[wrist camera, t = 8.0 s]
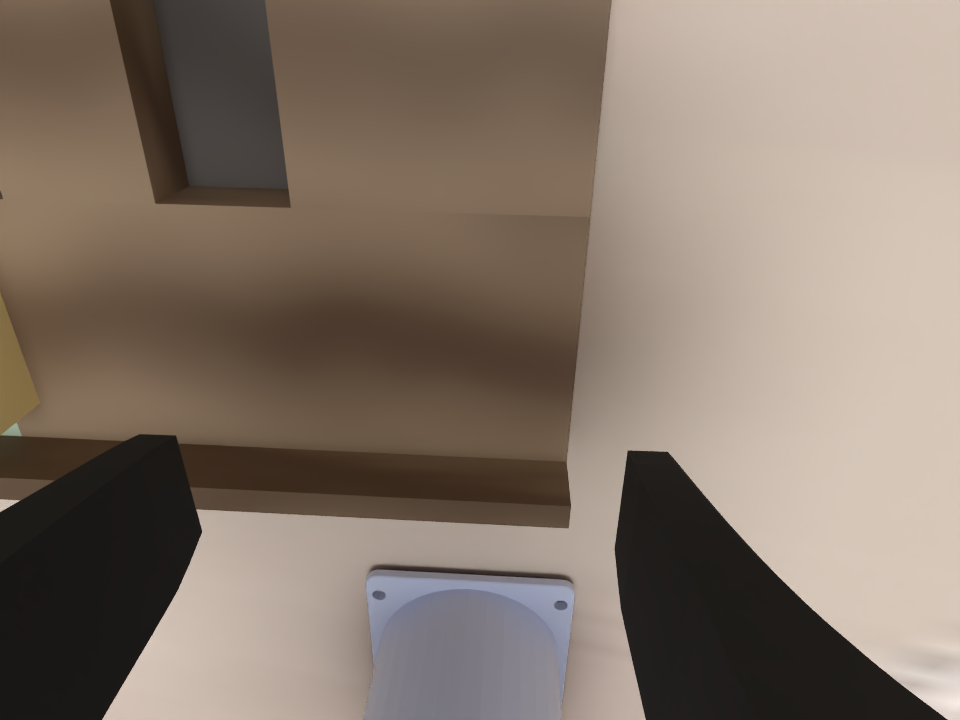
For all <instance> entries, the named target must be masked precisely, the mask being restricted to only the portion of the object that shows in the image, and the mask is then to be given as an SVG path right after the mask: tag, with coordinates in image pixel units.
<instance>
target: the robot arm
mask: <svg viewBox="0 0 960 720" xmlns="http://www.w3.org/2000/svg"><path fill="white" fill-rule="evenodd" d="M201 533H202V529H201V526H200V522H199V518H198V514H197V511H196V507H195V503H194V500H193V496H192V492H191V489H190V485H189V481H188V478H187V474H186V470H185V467H184V463H183V459H182V456H181V452H180V448H179V445H178V441H177V437H176V435H151V434H139V435H137V436H134V437H132V438H130V439H128V440H126V441H124V442H122V443H120V444H118V445H117V446H115V447H113V448H111V449H109V450H107V451H106V452H104V453H102V454H100V455H98V456H97V457H95V458H93V459H91V460H90V461H88V462H86V463H84V464H83V465H81V466H79V467H77V468H76V469H74V470H72V471H71V472H69V473H67V474H65V475H64V476H62V477H60V478H59V479H57V480H55V481H53V482H52V483H50V484H48V485H46V486H45V487H43V488H41V489H40V490H38V491H36V492H34V493H33V494H31V495H29V496H27V497H26V498H24V499H22V500H21V501H19V502H17V503H15V504H14V505H12V506H10V507H8V508H7V509H5V510H3V511H1V512H0V720H102V719H103V717H104V715H105V714H106V712H107V710H108V709H109V707H110V705H111V703H112V702H113V700H114V698H115V697H116V695H117V693H118V692H119V690H120V688H121V687H122V685H123V683H124V681H125V680H126V678H127V676H128V675H129V673H130V671H131V670H132V668H133V666H134V665H135V663H136V661H137V659H138V658H139V656H140V654H141V653H142V651H143V649H144V648H145V646H146V644H147V643H148V641H149V639H150V637H151V636H152V634H153V632H154V631H155V629H156V627H157V625H158V624H159V622H160V620H161V618H162V617H163V615H164V613H165V612H166V610H167V608H168V606H169V605H170V603H171V601H172V599H173V598H174V596H175V594H176V592H177V590H178V589H179V586H180V584H181V582H182V579H183V577H184V575H185V573H186V570H187V568H188V566H189V564H190V561H191V559H192V556H193V554H194V551H195V549H196V546H197V543H198V541H199V538H200V536H201ZM615 557H616V567H617V577H618V586H619V595H620V604H621V611H622V616H623V620H624V625H625V629H626V634H627V638H628V643H629V647H630V652H631V656H632V661H633V665H634V670H635V674H636V678H637V683H638V687H639V691H640V696H641V700H642V705H643V709H644V713H645V718H646V720H947V719H946V718H944V717H943V716H942V715H940V714H939V713H938V712H936V711H935V710H934V709H932V708H931V707H930V706H929V705H927V704H926V703H925V702H923V701H922V700H921V699H919V698H918V697H917V696H915V695H914V694H913V693H911V692H910V691H909V690H907V689H906V688H905V687H903V686H902V685H901V684H900V683H898V682H897V681H896V680H895V679H893V678H892V677H891V676H890V675H888V674H887V673H886V672H885V671H883V670H882V669H881V668H880V667H878V666H877V665H876V664H875V663H873V662H872V661H871V660H870V659H869V658H868V657H866V656H865V655H864V654H863V653H862V652H861V651H859V650H858V649H857V648H856V647H855V646H854V645H852V644H851V643H850V642H849V641H848V640H847V639H845V638H844V637H843V636H842V635H841V634H839V633H838V632H837V631H836V630H835V629H834V628H832V627H831V626H830V625H829V624H828V623H827V622H826V621H824V620H823V619H822V618H821V617H820V616H819V615H818V614H817V613H816V612H815V611H813V610H812V609H811V608H810V607H809V606H808V605H807V604H806V603H805V602H804V601H803V600H802V599H801V598H800V597H799V596H798V595H797V594H796V593H795V592H794V591H793V590H791V589H790V588H789V587H788V586H787V585H786V584H785V583H784V582H783V581H782V580H781V579H780V578H779V577H778V576H777V575H776V574H775V573H774V572H773V571H772V570H771V569H770V568H769V567H768V566H767V565H766V564H765V562H764V561H763V560H762V559H761V558H760V557H759V556H758V555H757V554H756V553H755V552H754V551H753V550H752V549H751V548H750V546H749V545H748V544H747V543H746V542H745V541H744V540H743V539H742V538H741V537H740V536H739V534H738V533H737V532H736V531H735V530H734V529H733V528H732V527H731V526H730V525H729V523H728V522H727V521H726V520H725V519H724V518H723V517H722V515H721V514H720V513H719V512H718V511H717V510H716V509H715V507H714V506H713V505H712V504H711V503H710V501H709V500H708V499H707V498H706V497H705V496H704V494H703V493H702V492H701V491H700V490H699V488H698V487H697V486H696V485H695V484H694V482H693V481H692V480H691V479H690V478H689V476H688V475H687V474H686V473H685V472H684V470H683V469H682V468H681V467H680V465H679V464H678V463H677V462H676V461H675V460H674V458H673V457H672V456H671V455H670V454H669V453H668V452H654V451H628V453H627V460H626V468H625V475H624V483H623V490H622V498H621V505H620V513H619V520H618V528H617V535H616V543H615ZM377 590H380V591H383V592H379V591H377ZM366 593H367V603H368V613H369V624H370V634H371V645H372V655H373V665H374V672H373V676H372V681H371V685H370V690H369V694H368V698H367V703H366V707H365V712H364V716H363V720H561V708H562V699H563V691H564V682H565V674H566V666H567V657H568V649H569V641H570V632H571V624H572V616H573V607H574V599H575V592H574V586H573V585H572V583H571V582H569V581H567V580H561V579H543V578H525V577H507V576H488V575H470V574H452V573H434V572H416V571H397V570H373V571H371V572H370V573H369V574H368V576H367V580H366ZM557 601H563V602H557Z"/></svg>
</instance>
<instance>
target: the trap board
mask: <svg viewBox="0 0 960 720" xmlns="http://www.w3.org/2000/svg"><path fill="white" fill-rule="evenodd" d="M610 9H611V0H0V293H1V296H2V299H3V301H4V304H5V307H6V310H7V312H8V315H9V318H10V321H11V324H12V326H13V329H14V332H15V335H16V337H17V340H18V343H19V346H20V348H21V351H22V354H23V357H24V359H25V362H26V365H27V368H28V370H29V373H30V376H31V379H32V381H33V384H34V387H35V390H36V392H37V395H38V398H39V401H40V404H39V405H37V406H36V407H35V408H34V409H32V410H31V411H30V412H29V413H28V414H26V415H25V416H24V417H23V418H21V419H20V420H19V421H18V422H16V423H15V424H14V425H13V426H11V427H10V428H9V429H8V430H6V431H5V432H4V433H3V434H2V435H0V499H8V500H22V499H24V498H26V497H27V496H29V495H31V494H33V493H34V492H36V491H38V490H40V489H41V488H43V487H45V486H46V485H48V484H50V483H52V482H53V481H55V480H57V479H59V478H60V477H62V476H64V475H65V474H67V473H69V472H71V471H72V470H74V469H76V468H77V467H79V466H81V465H83V464H84V463H86V462H88V461H90V460H91V459H93V458H95V457H97V456H98V455H100V454H102V453H104V452H106V451H107V450H109V449H111V448H113V447H115V446H117V445H118V444H120V443H122V442H124V441H126V440H128V439H130V438H132V437H134V436H137V435H139V434H151V435H176V437H177V441H178V445H179V448H180V452H181V456H182V459H183V463H184V467H185V470H186V474H187V478H188V481H189V485H190V489H191V492H192V496H193V500H194V503H195V507H196V509H202V510H222V511H241V512H261V513H280V514H299V515H319V516H338V517H358V518H377V519H397V520H416V521H435V522H455V523H474V524H494V525H513V526H533V527H552V528H569V519H570V510H571V502H570V492H569V482H568V472H567V451H568V441H569V431H570V421H571V410H572V400H573V390H574V379H575V369H576V359H577V349H578V338H579V328H580V318H581V307H582V297H583V287H584V277H585V266H586V256H587V246H588V235H589V225H590V215H591V205H592V194H593V184H594V174H595V164H596V153H597V143H598V133H599V122H600V112H601V102H602V92H603V81H604V71H605V61H606V50H607V40H608V30H609V20H610Z"/></svg>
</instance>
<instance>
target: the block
mask: <svg viewBox="0 0 960 720" xmlns="http://www.w3.org/2000/svg"><path fill="white" fill-rule="evenodd" d="M39 404H40V401H39V398H38V395H37V392H36V390H35V387H34V384H33V381H32V379H31V376H30V373H29V370H28V368H27V365H26V362H25V359H24V357H23V354H22V351H21V348H20V346H19V343H18V340H17V337H16V335H15V332H14V329H13V326H12V324H11V321H10V318H9V315H8V312H7V310H6V307H5V304H4V301H3V299H2V296H1V293H0V435H2V434H3V433H4V432H5V431H6V430H8V429H9V428H10V427H11V426H13V425H14V424H15V423H16V422H18V421H19V420H20V419H21V418H23V417H24V416H25V415H26V414H28V413H29V412H30V411H31V410H32V409H34V408H35V407H36V406H37V405H39Z"/></svg>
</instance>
